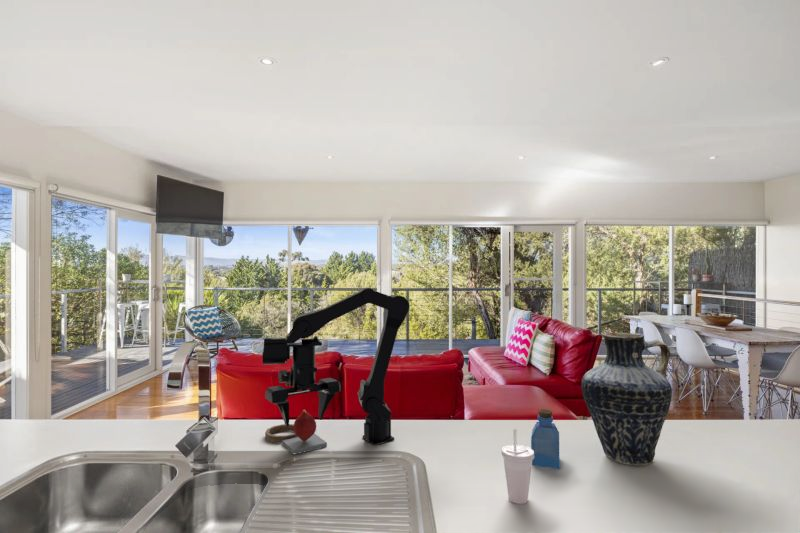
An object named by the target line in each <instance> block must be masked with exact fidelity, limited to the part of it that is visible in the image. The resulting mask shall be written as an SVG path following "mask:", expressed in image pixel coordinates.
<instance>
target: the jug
mask: <svg viewBox="0 0 800 533" xmlns="http://www.w3.org/2000/svg"><path fill="white" fill-rule="evenodd" d="M602 335H603V339H604V344H605V347H606V357H605V360H604V361H603V362H602V363H600V364H599V365H597V366H595V367H592V368H590V370H588V371H586V372H585V373H584V375H583V376H582V378H581V391H582V397H583V401H584V403H585V405H586V408H587V410H588V412H589V415H590V418H591V420H592V421H593V426H594V429H595V431H596V434H597V437H598V439H599V442H600V445H601V446H602V450H603V453H604V454H605V455H606V456H607V458H609V459H610V460H613V461H615V462H619V463H621V464H624V465H630V466H647V465H649V464H651V463H653V462H654V460H655V456H656V447H657V445H658V442H659V440H660V437H661V432H662V429H663V426H664V424H665V422H666V418H667V417H668V414H669V412H670V407H671V403H672V398H673V395H672V394H673V388H672V385H671V383H670V381H669V380H668V379H667V375H666V371H667V367H668V364H669V361H670V358H671V354H672V353H671V350H670V348H669V346H668V344H667V343H665V342H662V341H660V340H658V339H653V340H650V341H646V340H644V338H645V334H643V333H638V332H634V333H633V332H632V333H631V332H614V331H613V332H610V333H607V332H606V333H605V332H603V334H602ZM653 347H659V348H660V359H659V363H658V367H657V369H656V370H654V369H653V368H651V367H650V366H648V365H647V364H646V363H645V361H644V358H643V352H644V350H647V349H650V348H653Z"/></svg>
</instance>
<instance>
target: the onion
mask: <svg viewBox="0 0 800 533" xmlns="http://www.w3.org/2000/svg"><path fill="white" fill-rule="evenodd" d="M301 412H302V413H301V414H299V415H298V416H297V418H295V421H293V422H294V423H293V424H294V426H293V428H294V431H293V432H294V433H295V434H296V435H297V436H298V437H299V438H300V439H301V440H302V441H306V440H308V439H309V438H310V437H311V436H312V435H313V434H315V433H316V431H317V422H316V419H315V418H314V417H313V416H312V415H311V414H310V413H309V412H308V411H306V409H302V411H301ZM294 433H293V434H294Z"/></svg>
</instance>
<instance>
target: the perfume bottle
mask: <svg viewBox="0 0 800 533" xmlns="http://www.w3.org/2000/svg"><path fill="white" fill-rule="evenodd" d="M552 414H553V411H552V410H551V409H547V408H542V409H538V414H537V421H536V423H535V424H534V427H533V428H532V431H531V436H530V443H531V444H530V448H531V449H532V450H533V451H534V459H533V460H532V466H535V467H543V468H550V469H557V470H560V432H559V430H558V428H557V426H556V424H555V423H554V422H553V421H554V417H553V415H552Z"/></svg>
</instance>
